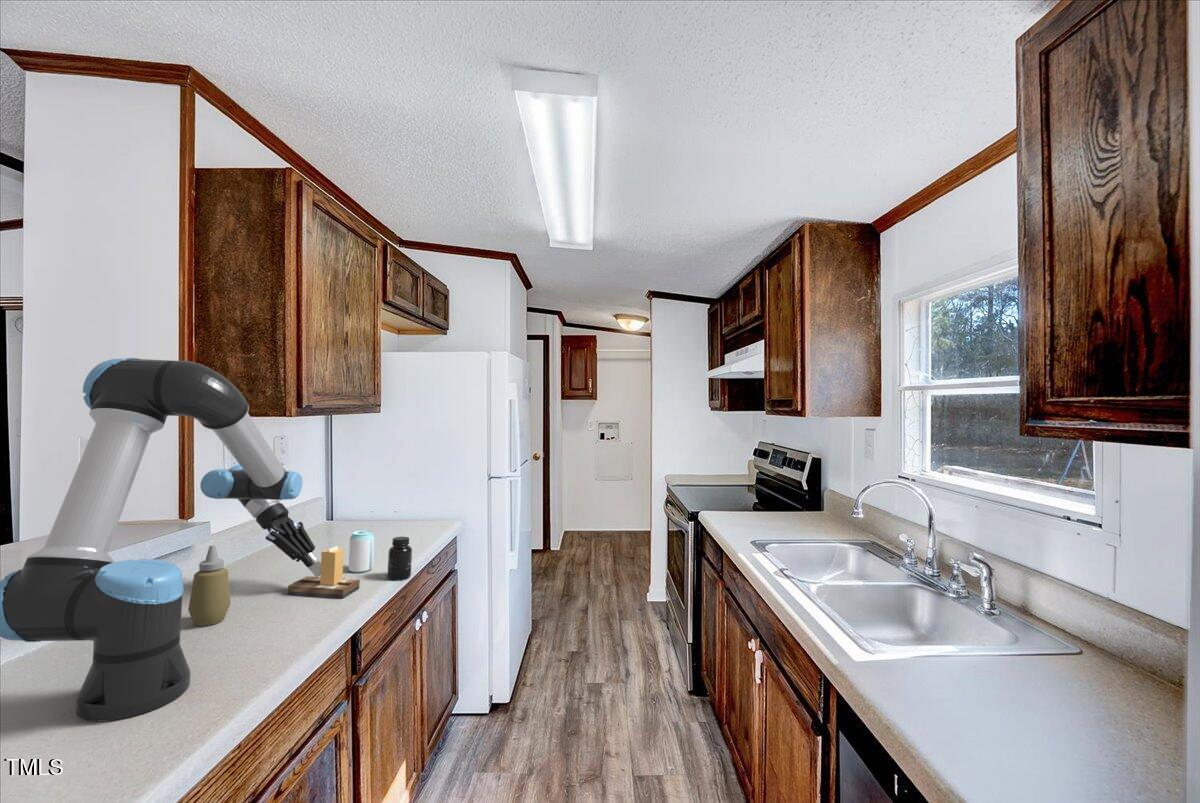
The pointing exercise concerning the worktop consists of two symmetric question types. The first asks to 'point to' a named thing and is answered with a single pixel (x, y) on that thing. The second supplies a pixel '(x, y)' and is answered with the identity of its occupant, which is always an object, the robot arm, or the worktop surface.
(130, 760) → the worktop surface
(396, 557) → the supplement bottle
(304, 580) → the console
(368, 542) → the can
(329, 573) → the fader tab
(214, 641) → the worktop surface
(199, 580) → the squeeze bottle
